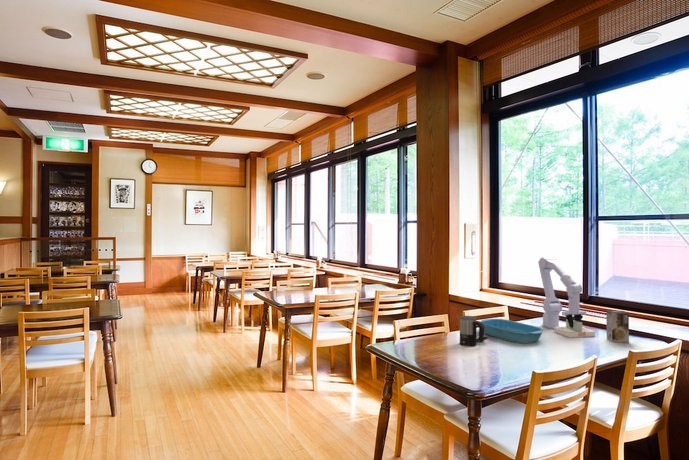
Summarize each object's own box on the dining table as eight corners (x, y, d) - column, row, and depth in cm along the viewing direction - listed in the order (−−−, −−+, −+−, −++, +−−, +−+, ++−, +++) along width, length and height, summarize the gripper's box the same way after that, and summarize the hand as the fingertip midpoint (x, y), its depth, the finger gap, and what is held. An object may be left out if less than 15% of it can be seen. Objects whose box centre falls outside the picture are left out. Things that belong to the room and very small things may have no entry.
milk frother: (457, 345, 232) (457, 317, 232) (463, 338, 246) (463, 312, 246) (484, 348, 225) (484, 320, 225) (489, 341, 239) (489, 314, 239)
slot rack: (553, 331, 260) (553, 326, 260) (578, 330, 263) (578, 325, 263) (569, 337, 247) (569, 332, 246) (595, 336, 249) (595, 331, 249)
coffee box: (622, 339, 243) (623, 310, 243) (629, 342, 237) (629, 313, 236) (605, 338, 244) (606, 310, 244) (611, 341, 238) (611, 312, 237)
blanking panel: (566, 330, 259) (566, 319, 259) (570, 330, 260) (570, 318, 260) (577, 334, 250) (577, 322, 249) (582, 334, 250) (582, 322, 250)
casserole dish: (551, 341, 240) (551, 328, 240) (527, 347, 228) (527, 334, 228) (495, 328, 271) (495, 316, 271) (471, 333, 259) (471, 321, 258)
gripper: (567, 305, 249) (567, 329, 250) (589, 305, 252) (589, 328, 252) (559, 303, 256) (559, 326, 257) (581, 302, 259) (581, 325, 259)
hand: (573, 327), depth 255 cm, fingers closed on blanking panel, 3 cm apart
